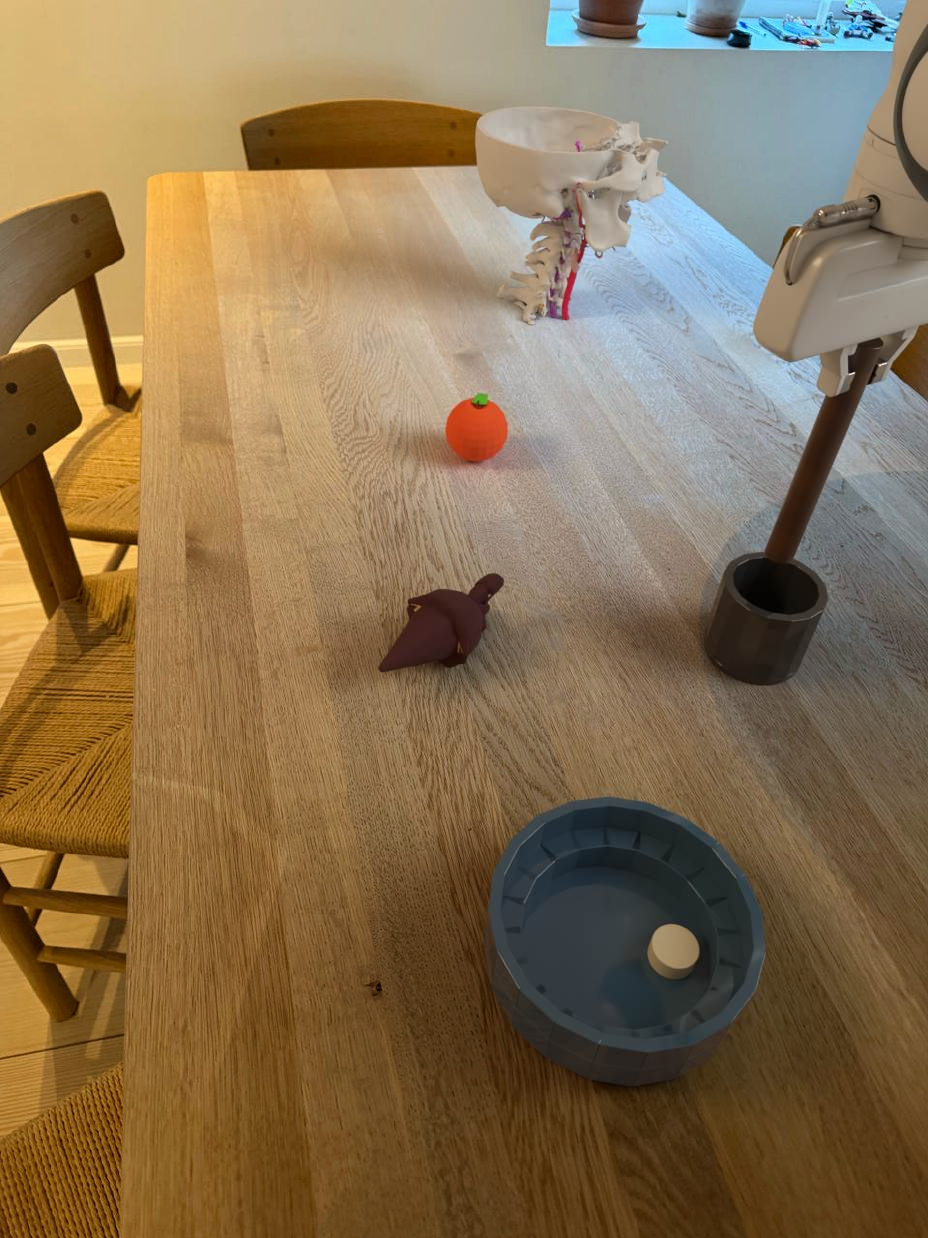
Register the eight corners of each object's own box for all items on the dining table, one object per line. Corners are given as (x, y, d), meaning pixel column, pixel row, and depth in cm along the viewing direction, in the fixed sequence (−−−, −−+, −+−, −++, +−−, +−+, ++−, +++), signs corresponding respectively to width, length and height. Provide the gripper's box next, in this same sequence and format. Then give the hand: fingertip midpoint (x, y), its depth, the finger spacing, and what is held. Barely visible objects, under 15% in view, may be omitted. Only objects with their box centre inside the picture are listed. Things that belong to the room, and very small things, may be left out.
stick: (790, 547, 81) (880, 332, 67) (795, 565, 79) (887, 350, 65) (762, 543, 81) (845, 328, 67) (766, 562, 80) (852, 346, 65)
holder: (794, 623, 91) (820, 558, 85) (805, 691, 84) (834, 627, 79) (701, 611, 91) (721, 546, 86) (705, 678, 85) (727, 612, 79)
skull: (462, 326, 130) (471, 147, 114) (470, 267, 143) (480, 100, 128) (645, 340, 130) (681, 163, 114) (636, 280, 143) (666, 114, 127)
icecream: (422, 675, 75) (537, 595, 84) (358, 613, 77) (477, 541, 86) (400, 723, 80) (511, 642, 89) (341, 663, 82) (455, 590, 91)
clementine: (453, 429, 111) (456, 375, 107) (511, 439, 111) (517, 384, 106) (438, 468, 106) (440, 412, 101) (499, 478, 105) (504, 422, 100)
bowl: (732, 863, 71) (753, 817, 67) (750, 1111, 59) (778, 1073, 54) (498, 828, 72) (505, 781, 68) (467, 1065, 60) (472, 1024, 56)
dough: (696, 941, 66) (701, 930, 65) (693, 985, 63) (698, 974, 62) (649, 930, 66) (654, 918, 65) (645, 973, 64) (649, 962, 63)
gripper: (842, 231, 53) (773, 442, 63) (1069, 181, 61) (977, 375, 71) (764, 192, 57) (710, 396, 66) (987, 149, 65) (911, 337, 74)
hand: (850, 385), depth 69 cm, fingers closed on stick, 2 cm apart
